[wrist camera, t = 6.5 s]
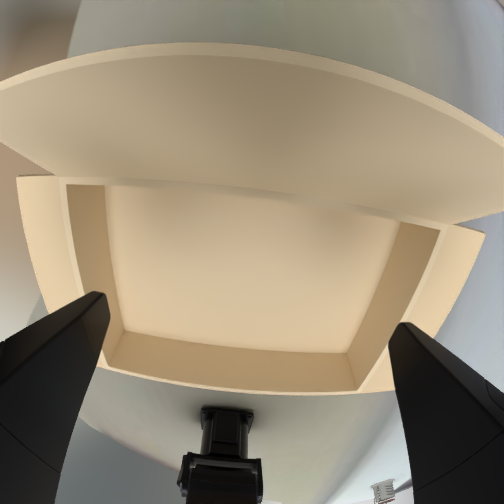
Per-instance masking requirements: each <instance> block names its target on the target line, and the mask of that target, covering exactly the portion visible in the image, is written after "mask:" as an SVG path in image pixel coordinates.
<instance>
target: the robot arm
mask: <svg viewBox="0 0 504 504" xmlns="http://www.w3.org/2000/svg"><path fill="white" fill-rule="evenodd" d="M110 319H111V314H110V309H109V305H108V300H107V296H106V294H105V293H103V292H99V291H91V292H89V293H88V294H86V295H84V296H82V297H80V298H78V299H76V300H74V301H73V302H71V303H69V304H67V305H65V306H63V307H62V308H60V309H58V310H56V311H54V312H52V313H51V314H49V315H47V316H45V317H43V318H42V319H40V320H38V321H36V322H35V323H33V324H31V325H29V326H28V327H26V328H24V329H23V330H21V331H19V332H17V333H16V334H14V335H12V336H10V337H9V338H7V339H6V340H5V341H2V342H0V504H54V503H55V498H56V493H57V489H58V484H59V480H60V475H61V474H60V473H61V470H62V467H63V463H64V459H65V456H66V452H67V448H68V445H69V442H70V438H71V435H72V432H73V429H74V426H75V422H76V420H77V417H78V414H79V411H80V408H81V405H82V402H83V399H84V397H85V394H86V391H87V389H88V386H89V383H90V381H91V378H92V376H93V373H94V370H95V368H96V365H97V363H98V359H99V356H100V353H101V349H102V346H103V343H104V339H105V336H106V333H107V330H108V327H109V323H110ZM388 350H389V356H390V362H391V368H392V374H393V381H394V387H395V391H396V396H397V400H398V404H399V409H400V413H401V418H402V423H403V428H404V433H405V438H406V444H407V450H408V456H409V462H410V469H411V477H412V485H413V491H414V492H413V495H414V504H504V393H503V392H501V391H500V390H499V389H497V388H496V387H495V386H494V385H492V384H491V383H490V382H489V381H487V380H486V379H484V377H482V376H481V375H480V374H479V373H477V372H476V371H475V370H473V369H472V368H471V367H470V366H468V365H467V364H466V363H464V362H463V361H462V360H461V359H459V358H458V357H457V356H455V355H454V354H453V353H451V352H450V351H449V350H448V349H446V348H445V347H444V346H442V345H441V344H440V343H438V342H437V341H436V340H434V339H433V338H432V337H430V336H429V335H428V334H426V333H425V332H424V331H422V330H421V329H419V328H418V327H417V326H415V325H414V324H413V323H411V322H400V323H399V324H398V325H397V326H396V328H395V330H394V332H393V334H392V336H391V337H390V339H389V342H388ZM253 418H254V414H253V413H250V412H237V411H226V410H217V409H208V408H202V409H201V427H202V430H203V436H202V444H201V452H200V454H195V453H192V452H188V454H187V455H183V460H182V466H181V470H180V473H179V477H178V480H177V485H178V486H179V487H180V490H181V492H182V497H186V504H261V502H262V497H263V478H262V467H261V458H256V459H247V458H248V434H249V431H250V428H251V425H252V422H253ZM194 467H195V468H194Z"/></svg>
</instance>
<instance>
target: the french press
mask: <svg viewBox="0 0 504 504" xmlns="http://www.w3.org/2000/svg"><path fill="white" fill-rule="evenodd" d="M393 480H394V479H389V480H386V481H383V482H380V483H377V484H374V485H372V486H371V487H372V488H373V489H374V495H375V498H374V500H376V502H378V504H384V503H387V502H391V501H393V500H395V499H390V498H392V497H394V496H395V493H394V489H393V484H392V481H393ZM377 489H379V490H377ZM378 491H380V492H379V493H378ZM378 494H379V495H378ZM379 496H380V498H379ZM387 499H390V500H387ZM384 500H387V501H384ZM380 501H384V502H381V503H379V502H380ZM374 503H375V501H374Z"/></svg>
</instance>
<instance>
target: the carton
mask: <svg viewBox="0 0 504 504" xmlns="http://www.w3.org/2000/svg"><path fill="white" fill-rule="evenodd" d="M16 180H17V190H18V197H19V204H20V210H21V216H22V221H23V226H24V231H25V236H26V240H27V245H28V249H29V253H30V256H31V260H32V264H33V268H34V271H35V274H36V278H37V281H38V284H39V287H40V290H41V293H42V296H43V299H44V302H45V305H46V307H47V310H48V313H49V314H51V313H52V312H54V311H56V310H58V309H60V308H62V307H63V306H65V305H67V304H69V303H71V302H73V301H74V300H76V299H78V298H80V297H82V296H84V295H86V294H88V293H89V292H91V291H99V292H103V293H105V294H106V296H107V300H108V305H109V309H110V314H111V319H110V323H109V327H108V330H107V333H106V336H105V339H104V343H103V346H102V349H101V353H100V356H99V359H98V363H97V365H96V366H98V367H101V368H105V369H109V370H112V371H116V372H120V373H124V374H128V375H132V376H137V377H141V378H146V379H150V380H155V381H160V382H166V383H171V384H177V385H183V386H189V387H196V388H203V389H211V390H219V391H229V392H239V393H252V394H269V395H341V394H358V393H370V392H381V391H390V390H395V387H394V381H393V374H392V368H391V362H390V356H389V350H388V342H389V339H390V337H391V336H392V334H393V332H394V330H395V328H396V326H397V325H398V324H399V323H400V322H411V323H413V324H414V325H415V326H417V327H418V328H419V329H421V330H422V331H424V332H425V333H426V334H428V335H429V336H430V337H432V338H434V337H435V335H436V334H437V332H438V330H439V329H440V327H441V325H442V324H443V322H444V320H445V319H446V317H447V315H448V314H449V312H450V310H451V308H452V306H453V305H454V303H455V301H456V299H457V297H458V295H459V293H460V291H461V289H462V287H463V285H464V283H465V281H466V279H467V277H468V275H469V273H470V271H471V269H472V267H473V264H474V262H475V260H476V257H477V255H478V253H479V250H480V248H481V245H482V243H483V240H484V238H485V235H486V234H485V233H484V232H483V231H480V230H476V229H473V228H469V227H466V226H462V225H459V224H453V225H447V224H443V223H439V222H435V221H431V220H427V219H423V218H418V217H414V216H410V215H405V214H401V213H396V212H391V211H387V210H382V209H377V208H372V207H367V206H362V205H356V204H351V203H345V202H340V201H334V200H328V199H322V198H316V197H310V196H303V195H297V194H290V193H283V192H276V191H268V190H260V189H252V188H244V187H235V186H226V185H216V184H206V183H195V182H182V181H169V180H153V179H135V178H109V177H57V176H56V175H54V174H32V175H19V176H17V177H16Z"/></svg>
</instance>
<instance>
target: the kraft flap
mask: <svg viewBox="0 0 504 504" xmlns="http://www.w3.org/2000/svg"><path fill="white" fill-rule="evenodd" d="M0 142H2V143H4V144H5V145H7V146H8V147H10V148H11V149H13V150H14V151H16V152H18V153H19V154H21V155H23V156H24V157H26V158H27V159H29V160H31V161H32V162H34V163H36V164H37V165H39V166H41V167H43V168H44V169H46V170H47V171H49V172H51V173H52V174H54V175H56V176H57V177H109V178H135V179H153V180H169V181H182V182H195V183H206V184H216V185H226V186H235V187H244V188H252V189H260V190H268V191H276V192H283V193H290V194H297V195H303V196H310V197H316V198H322V199H328V200H334V201H340V202H345V203H351V204H356V205H362V206H367V207H372V208H377V209H382V210H387V211H391V212H396V213H401V214H405V215H410V216H414V217H418V218H423V219H427V220H431V221H435V222H439V223H443V224H447V225H453V224H456V223H460V222H464V221H468V220H472V219H476V218H480V217H484V216H487V215H491V214H495V213H499V212H502V211H504V137H502V136H501V135H499V134H498V133H497V132H495V131H494V130H492V129H491V128H489V127H488V126H486V125H484V124H483V123H481V122H480V121H478V120H476V119H475V118H473V117H471V116H470V115H468V114H466V113H465V112H463V111H461V110H459V109H458V108H456V107H454V106H452V105H450V104H448V103H446V102H444V101H442V100H440V99H438V98H436V97H434V96H432V95H430V94H428V93H426V92H424V91H421V90H419V89H417V88H415V87H412V86H410V85H408V84H405V83H403V82H400V81H398V80H395V79H393V78H390V77H387V76H385V75H382V74H379V73H376V72H373V71H370V70H367V69H364V68H361V67H358V66H354V65H351V64H347V63H344V62H340V61H336V60H332V59H328V58H324V57H320V56H316V55H311V54H306V53H301V52H296V51H290V50H284V49H278V48H271V47H263V46H254V45H244V44H230V43H205V42H188V43H162V44H149V45H139V46H130V47H123V48H116V49H110V50H104V51H99V52H94V53H89V54H84V55H80V56H76V57H72V58H68V59H64V60H60V61H57V62H53V63H50V64H47V65H44V66H41V67H38V68H35V69H32V70H29V71H26V72H24V73H21V74H18V75H16V76H13V77H11V78H8V79H6V80H4V81H1V82H0Z"/></svg>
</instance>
